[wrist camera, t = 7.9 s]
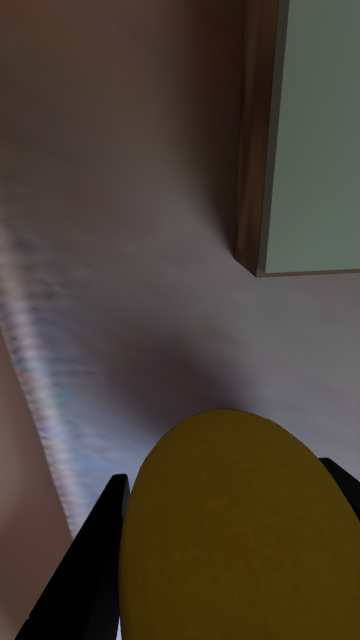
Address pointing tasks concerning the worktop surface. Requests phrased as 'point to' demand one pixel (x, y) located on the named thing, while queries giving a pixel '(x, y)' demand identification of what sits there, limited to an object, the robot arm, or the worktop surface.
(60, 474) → the worktop surface
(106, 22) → the worktop surface
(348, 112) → the lid
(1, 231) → the worktop surface
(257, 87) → the tray
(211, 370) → the worktop surface
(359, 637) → the lemon
